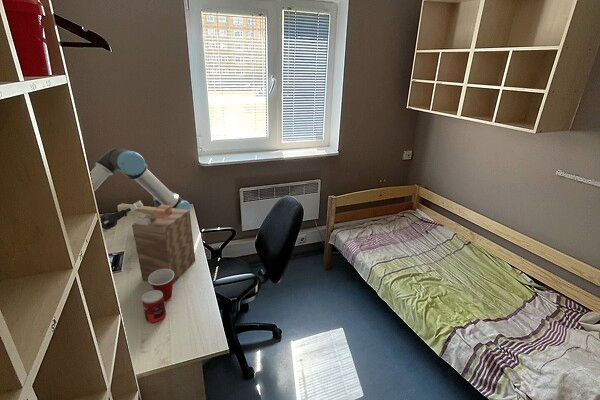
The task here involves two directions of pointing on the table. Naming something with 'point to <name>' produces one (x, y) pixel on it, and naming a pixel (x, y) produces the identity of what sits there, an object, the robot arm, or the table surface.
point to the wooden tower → (165, 244)
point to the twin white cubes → (144, 220)
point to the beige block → (149, 210)
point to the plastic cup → (162, 282)
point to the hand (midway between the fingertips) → (138, 204)
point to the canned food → (154, 306)
